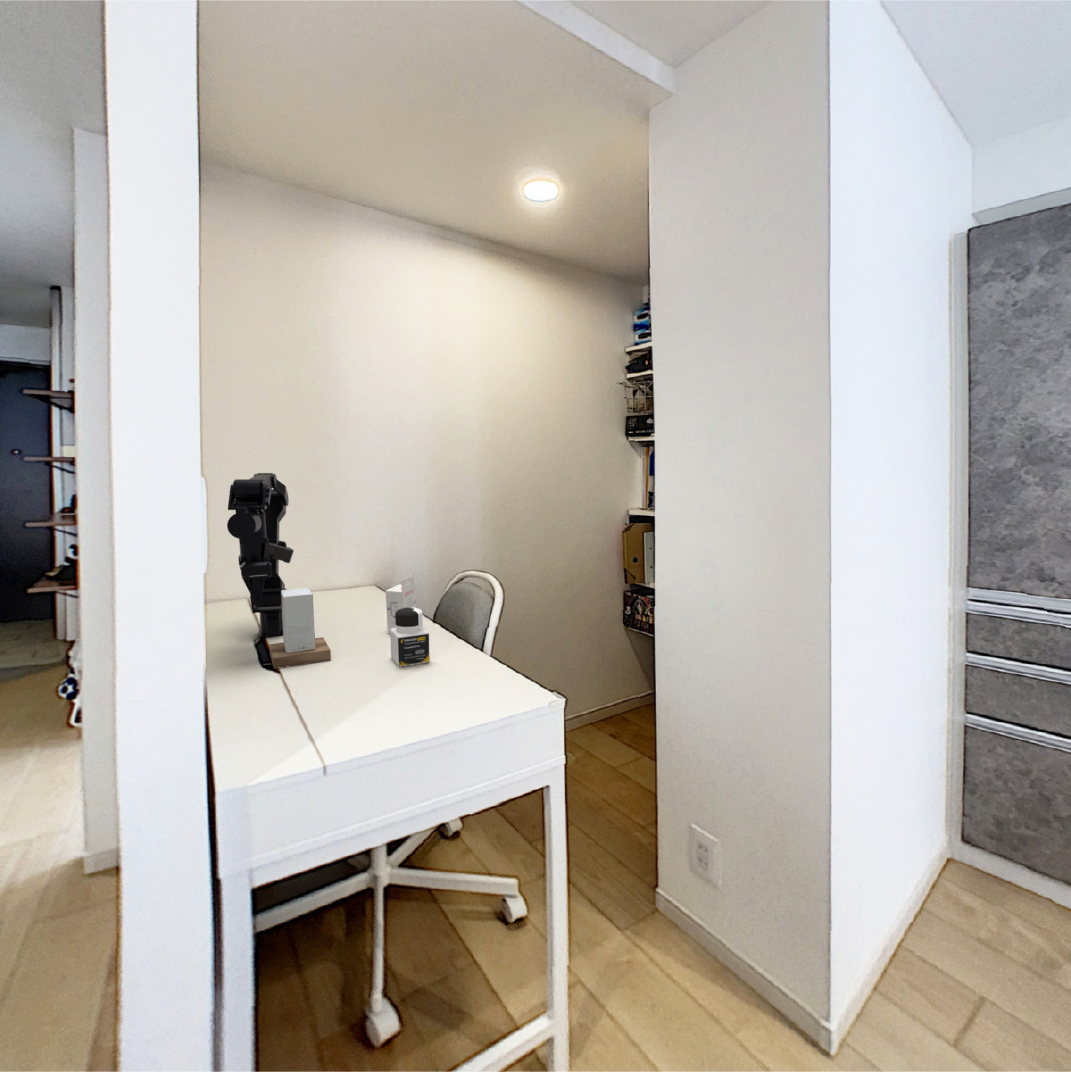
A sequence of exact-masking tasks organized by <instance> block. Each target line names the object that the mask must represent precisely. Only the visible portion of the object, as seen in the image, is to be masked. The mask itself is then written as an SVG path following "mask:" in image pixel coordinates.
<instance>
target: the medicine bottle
mask: <svg viewBox="0 0 1071 1072" xmlns="http://www.w3.org/2000/svg"><path fill="white" fill-rule="evenodd" d="M395 623H396V628H392V629H390V634H389V635H390V637H389V638H390V639H389V640H390V658H391V659H392V661H393V662H394V664H396V665H397V666H398V668H403V667H402V666H404V667H407V666H406V665H410V666H414V665H415V664H416V665H421V663H422V664H427V663H426V662H428V663H430V632H429V631H428V630H426V629H425V628H424V625H423V624H424V623H423V611H422V609H420V608H418V607H416V608H402V609H400V610H398V611H396V613H395ZM416 665H415V666H416Z"/></svg>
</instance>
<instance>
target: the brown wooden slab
mask: <svg viewBox="0 0 1071 1072" xmlns="http://www.w3.org/2000/svg"><path fill="white" fill-rule="evenodd" d="M268 645H269V656H270V659H271V662H272V666H273V669H274V670H275V669H276V670H277V669H278V670H279V668H278V667H284V668H287V667H286V666H291V667H296V666H297V667H298V666H301V665H302V666H303V665H309V664H317V663H323V662H330V661H332V654H331V653H332V652H331V648H330V646H329V645H328V643H327V641H326V640H325V638H324V636H323V637H322V636H321V637H315V649H313V650H307V651H300V652H293V653H286V650H285V647H284V641H283V642H278V643H277V642H275V643H271V644H270V643H269V644H268Z"/></svg>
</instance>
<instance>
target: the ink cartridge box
mask: <svg viewBox="0 0 1071 1072" xmlns="http://www.w3.org/2000/svg"><path fill="white" fill-rule="evenodd" d="M408 581H409V582H408ZM407 582H408V583H407ZM416 600H417V599H416V584H415V576H414V574H413V573H412V574H411V575H408V576H406V577H404V578H402V579H401V580H400V584H397V585H395V586H393V587H391V588H389V589H387V590H385V605H386V606H385V607H386V620H387V621H386V622H387V623H386V626H387V628H386V629H387V634H388V635H390V629H392V628H396V623H395V613H396V611H398V610H400V609H402V608H417V607H416V605H417V604H416V603H417V602H416Z"/></svg>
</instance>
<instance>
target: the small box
mask: <svg viewBox="0 0 1071 1072" xmlns="http://www.w3.org/2000/svg"><path fill="white" fill-rule="evenodd" d="M281 599H282V620H283V635H282V636H283V639H282V640H283V642H284V647H285V650H286V653H293V652H300V651H307V650H313V649H315V638H316V633H315V614H314V613H315V612H314V610H315V609H314V595H313V592H312V590H311V589H310V587H302V588H291V589H290V588H289V589H287V590H281Z"/></svg>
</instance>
